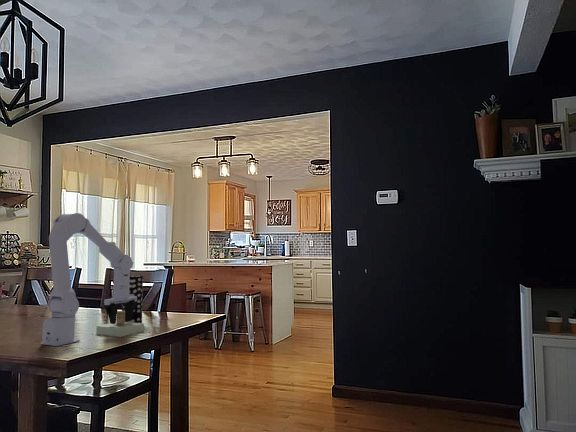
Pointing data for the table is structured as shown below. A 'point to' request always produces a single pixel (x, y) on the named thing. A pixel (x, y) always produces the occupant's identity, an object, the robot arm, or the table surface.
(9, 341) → the table surface
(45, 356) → the table surface
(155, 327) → the table surface
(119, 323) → the peg
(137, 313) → the spotted tube
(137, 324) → the wick holder
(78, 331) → the table surface
